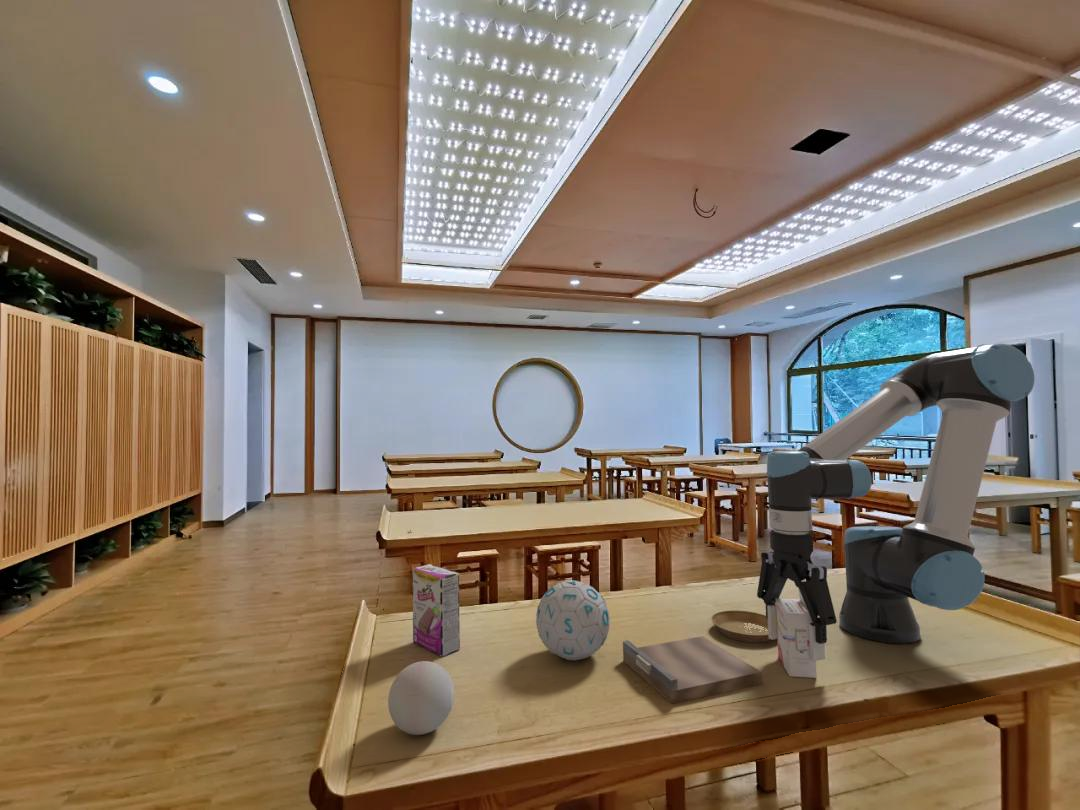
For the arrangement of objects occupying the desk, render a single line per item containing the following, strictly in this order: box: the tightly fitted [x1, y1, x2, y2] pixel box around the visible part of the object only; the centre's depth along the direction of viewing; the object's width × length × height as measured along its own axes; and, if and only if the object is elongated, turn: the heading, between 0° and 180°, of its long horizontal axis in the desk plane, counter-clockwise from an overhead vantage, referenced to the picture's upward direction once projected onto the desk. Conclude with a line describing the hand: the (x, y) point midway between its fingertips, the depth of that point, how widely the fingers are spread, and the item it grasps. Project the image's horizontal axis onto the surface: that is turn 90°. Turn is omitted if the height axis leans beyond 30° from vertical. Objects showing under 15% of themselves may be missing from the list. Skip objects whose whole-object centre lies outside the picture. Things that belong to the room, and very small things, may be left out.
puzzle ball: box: [535, 579, 610, 661], centre depth 104 cm, size 15×15×15 cm
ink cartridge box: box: [775, 589, 818, 679], centre depth 97 cm, size 9×5×15 cm, turn 168°
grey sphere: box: [387, 660, 455, 736], centre depth 79 cm, size 10×10×10 cm
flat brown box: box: [622, 635, 763, 704], centre depth 96 cm, size 20×17×4 cm
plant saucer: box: [710, 609, 770, 643], centre depth 114 cm, size 15×15×3 cm
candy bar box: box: [411, 563, 461, 657], centre depth 110 cm, size 11×5×16 cm, turn 47°
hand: (795, 648), depth 97 cm, fingers closed on ink cartridge box, 9 cm apart
